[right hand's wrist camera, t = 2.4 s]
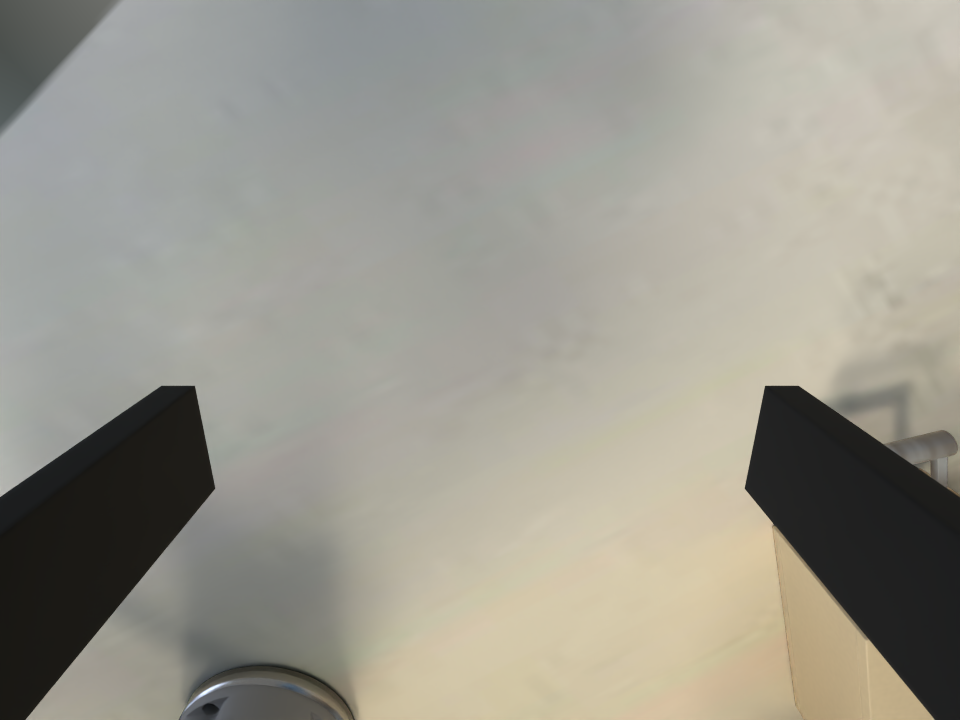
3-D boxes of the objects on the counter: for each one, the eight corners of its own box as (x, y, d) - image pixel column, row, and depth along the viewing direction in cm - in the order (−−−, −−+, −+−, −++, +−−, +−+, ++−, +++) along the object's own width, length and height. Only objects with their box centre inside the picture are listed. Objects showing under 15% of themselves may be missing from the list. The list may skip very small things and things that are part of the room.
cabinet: (772, 526, 41) (865, 640, 31) (919, 491, 40) (1065, 598, 30) (795, 705, 47) (878, 847, 38) (922, 679, 46) (1043, 818, 37)
